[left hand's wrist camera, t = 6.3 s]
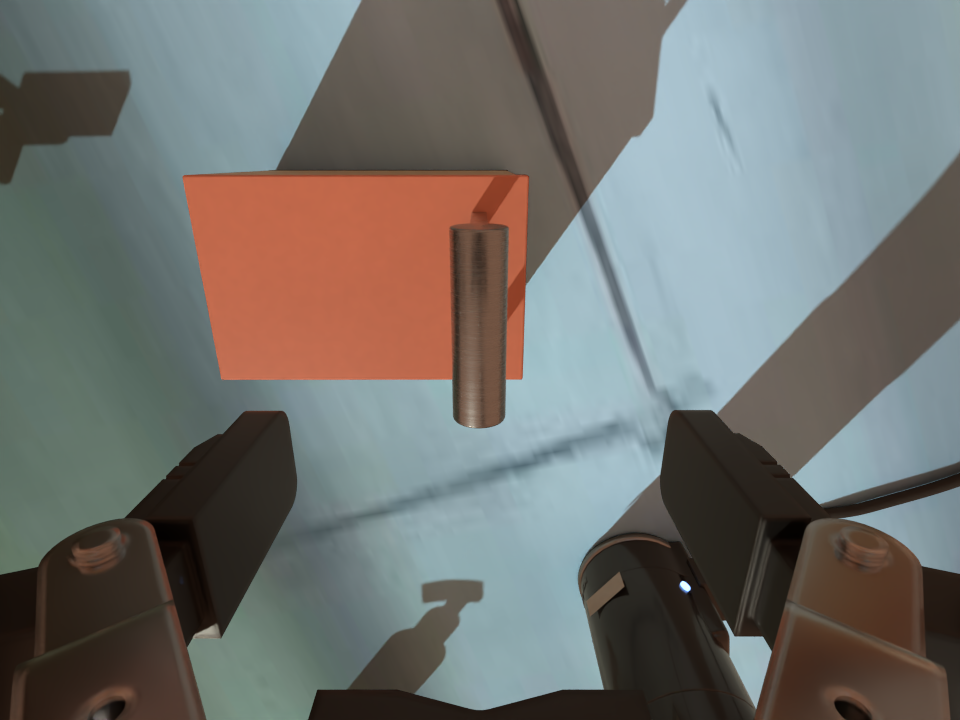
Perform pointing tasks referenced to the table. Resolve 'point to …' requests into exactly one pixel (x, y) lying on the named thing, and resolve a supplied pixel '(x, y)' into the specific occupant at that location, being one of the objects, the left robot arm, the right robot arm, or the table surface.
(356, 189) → the lid
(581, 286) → the table surface
